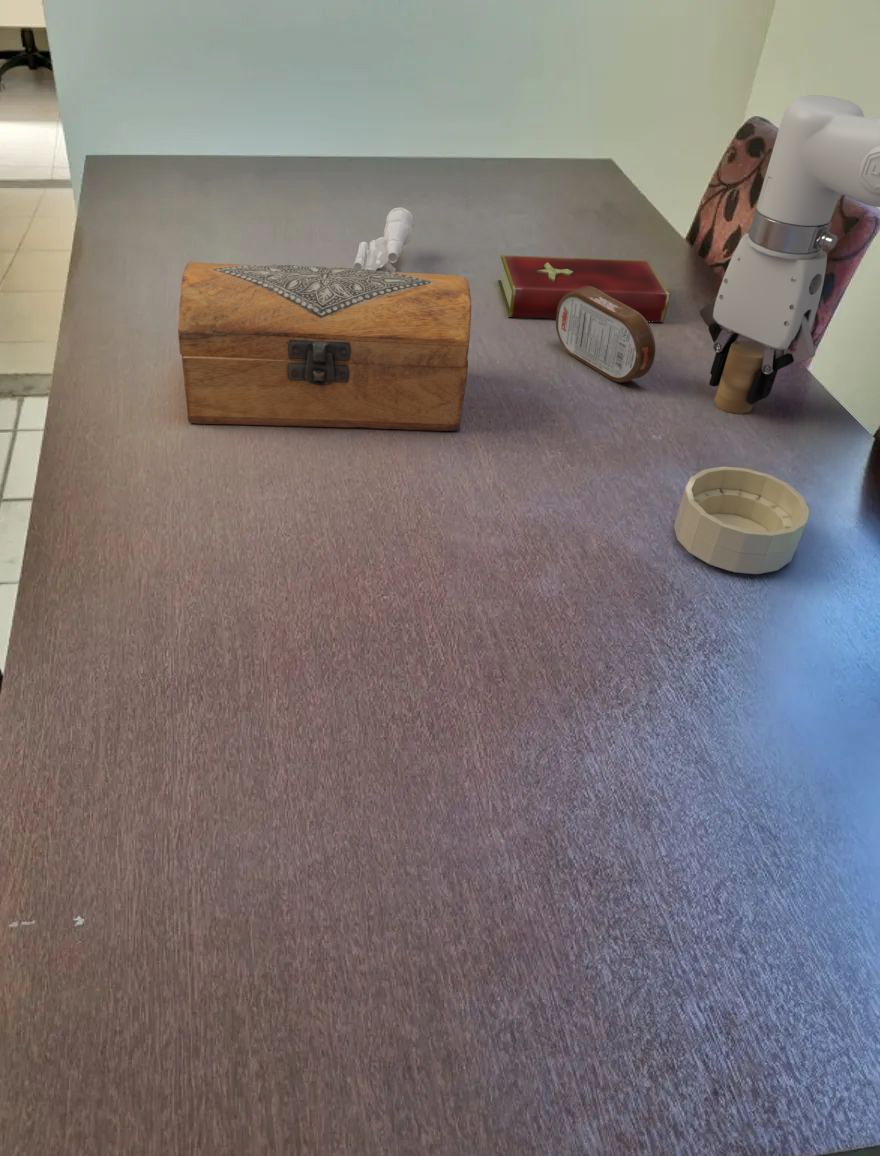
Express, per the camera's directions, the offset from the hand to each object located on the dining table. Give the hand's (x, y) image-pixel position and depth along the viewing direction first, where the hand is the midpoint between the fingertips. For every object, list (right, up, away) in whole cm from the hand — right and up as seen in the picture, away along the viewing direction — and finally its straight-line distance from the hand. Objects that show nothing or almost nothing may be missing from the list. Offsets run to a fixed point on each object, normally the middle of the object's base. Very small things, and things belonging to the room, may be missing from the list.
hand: (737, 390), depth 113 cm
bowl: (-7, -20, -20) cm, 29 cm away
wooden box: (-48, -2, -3) cm, 48 cm away
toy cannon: (-42, +24, +26) cm, 55 cm away
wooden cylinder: (0, -1, +1) cm, 2 cm away
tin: (-15, +4, +7) cm, 17 cm away
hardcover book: (-15, +17, +21) cm, 31 cm away
